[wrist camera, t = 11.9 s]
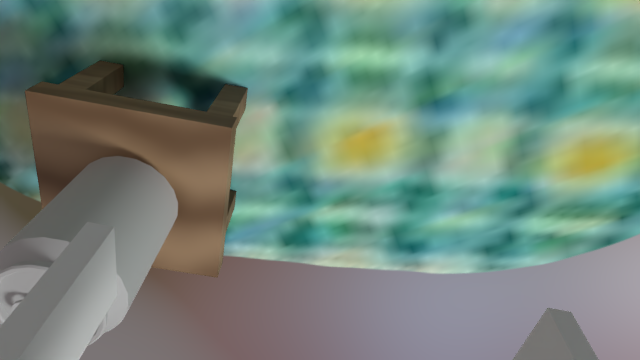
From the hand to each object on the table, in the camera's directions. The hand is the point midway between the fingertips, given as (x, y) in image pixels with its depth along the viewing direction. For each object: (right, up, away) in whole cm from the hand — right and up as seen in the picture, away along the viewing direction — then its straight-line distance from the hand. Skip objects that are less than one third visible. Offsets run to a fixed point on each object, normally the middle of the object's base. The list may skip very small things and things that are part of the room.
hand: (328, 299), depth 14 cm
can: (-15, +3, +20) cm, 25 cm away
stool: (-14, +8, +29) cm, 33 cm away
